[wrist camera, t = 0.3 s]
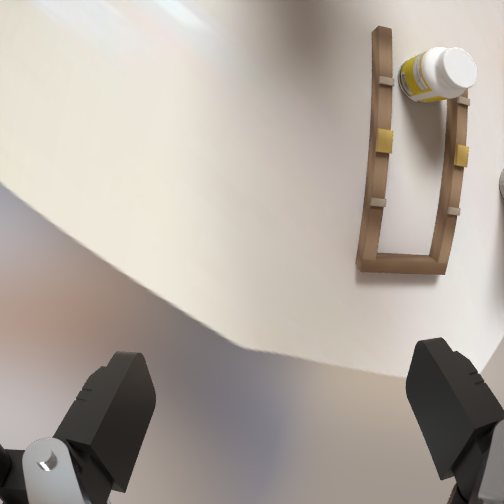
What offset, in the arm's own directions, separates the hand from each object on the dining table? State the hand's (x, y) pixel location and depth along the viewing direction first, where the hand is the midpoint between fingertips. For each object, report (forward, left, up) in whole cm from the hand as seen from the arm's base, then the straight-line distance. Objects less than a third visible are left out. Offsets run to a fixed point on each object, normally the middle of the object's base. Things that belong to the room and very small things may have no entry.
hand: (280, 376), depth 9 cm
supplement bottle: (-15, +16, -28) cm, 36 cm away
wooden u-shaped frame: (-7, +16, -28) cm, 33 cm away
